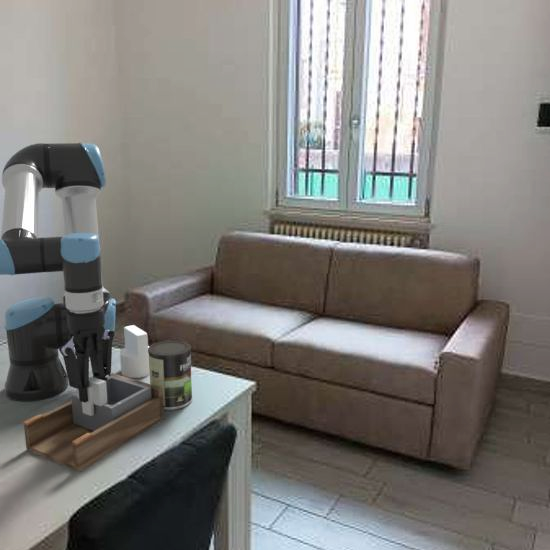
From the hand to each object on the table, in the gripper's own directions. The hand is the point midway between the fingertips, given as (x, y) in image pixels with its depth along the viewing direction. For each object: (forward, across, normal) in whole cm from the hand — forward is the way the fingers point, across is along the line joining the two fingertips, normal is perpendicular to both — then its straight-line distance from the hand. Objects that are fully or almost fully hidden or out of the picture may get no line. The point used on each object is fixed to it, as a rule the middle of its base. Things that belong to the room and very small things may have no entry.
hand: (93, 411), depth 128 cm
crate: (+4, +5, 0) cm, 7 cm away
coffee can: (+6, +22, -3) cm, 23 cm away
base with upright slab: (+6, +31, +17) cm, 36 cm away
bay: (+6, +1, 0) cm, 6 cm away
